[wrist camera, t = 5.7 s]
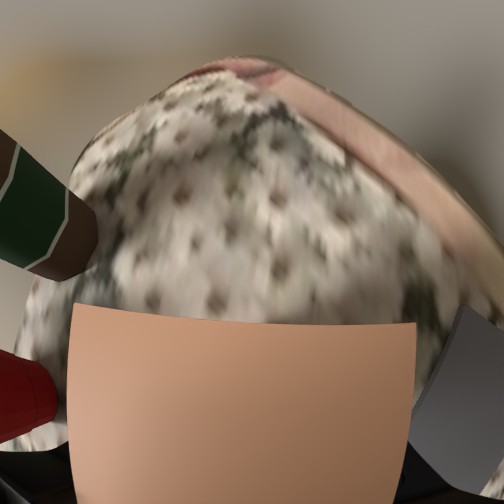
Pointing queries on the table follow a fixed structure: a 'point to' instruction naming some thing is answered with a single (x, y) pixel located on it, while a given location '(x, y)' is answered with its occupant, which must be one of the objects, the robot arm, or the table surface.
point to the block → (236, 410)
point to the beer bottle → (41, 218)
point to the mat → (464, 405)
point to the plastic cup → (24, 396)
